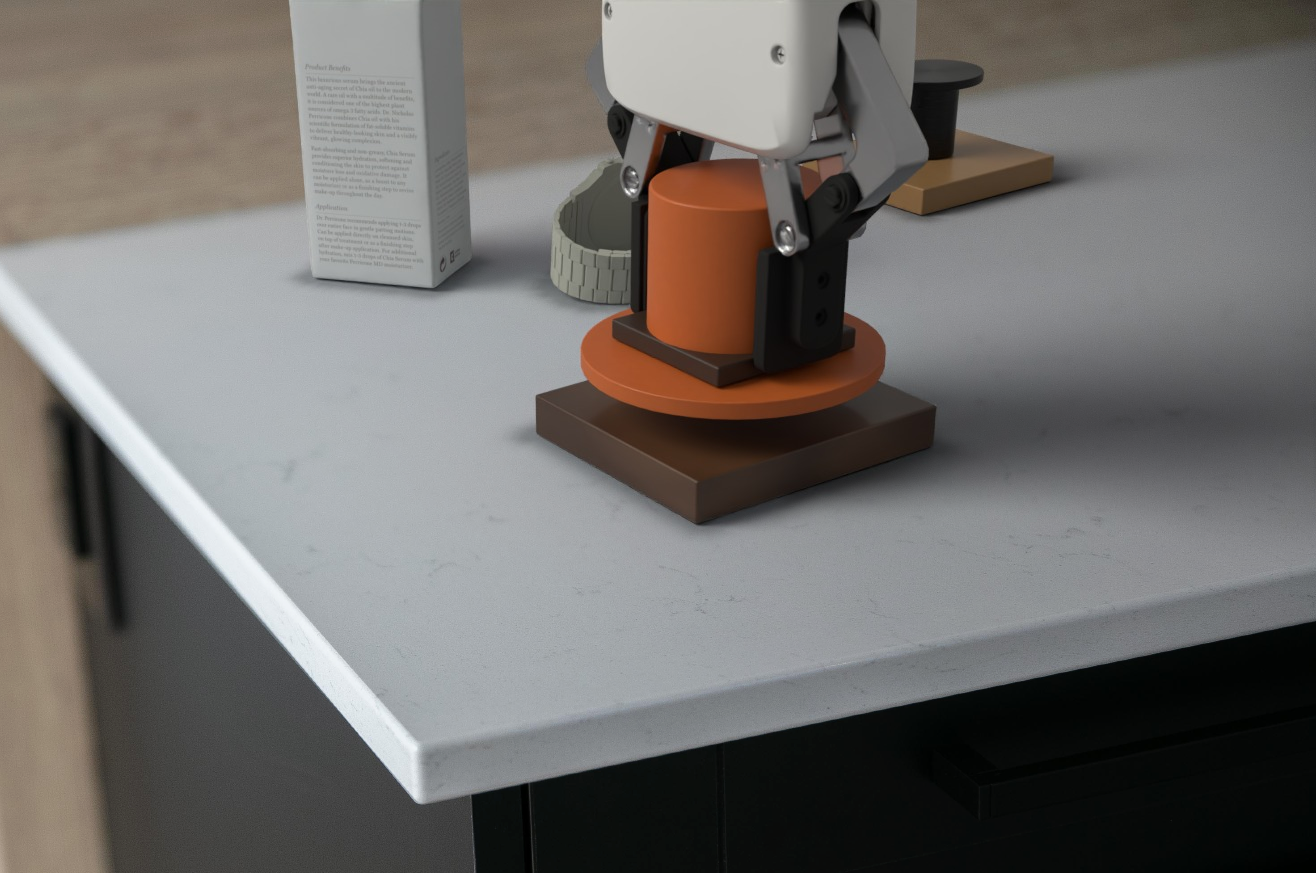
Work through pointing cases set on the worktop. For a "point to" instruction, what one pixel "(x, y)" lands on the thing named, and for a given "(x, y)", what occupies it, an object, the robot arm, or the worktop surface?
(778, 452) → the shelf board
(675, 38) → the robot arm
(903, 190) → the stand
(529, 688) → the worktop surface
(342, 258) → the cosmetic box
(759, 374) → the hat
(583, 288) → the wristwatch
